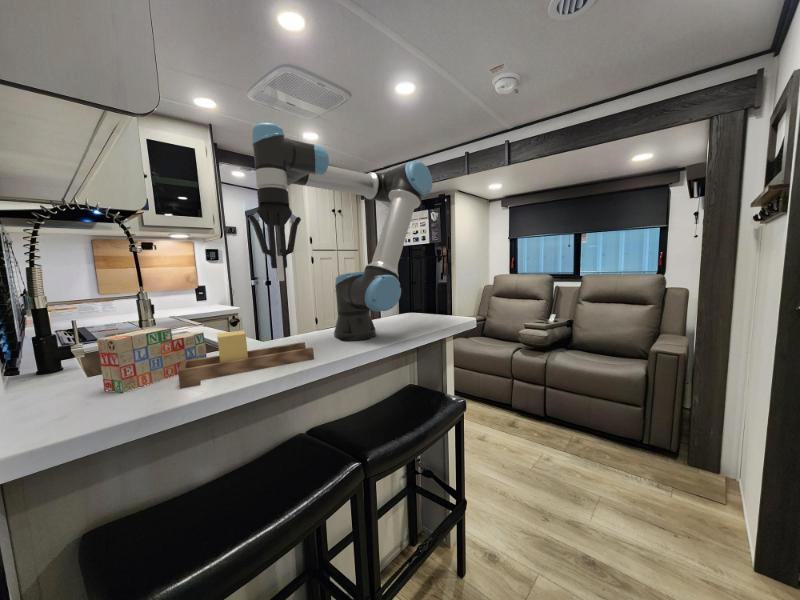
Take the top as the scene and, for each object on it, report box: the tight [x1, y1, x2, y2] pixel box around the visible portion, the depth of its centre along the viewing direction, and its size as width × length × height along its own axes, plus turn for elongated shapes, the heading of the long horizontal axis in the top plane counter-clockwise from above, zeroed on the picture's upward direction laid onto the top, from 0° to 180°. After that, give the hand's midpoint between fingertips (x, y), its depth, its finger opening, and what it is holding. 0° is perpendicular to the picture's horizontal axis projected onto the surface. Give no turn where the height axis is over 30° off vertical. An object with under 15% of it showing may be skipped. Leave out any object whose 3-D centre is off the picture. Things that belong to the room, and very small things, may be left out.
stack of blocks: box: [96, 327, 208, 394], centre depth 80 cm, size 21×6×12 cm, turn 163°
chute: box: [177, 341, 315, 389], centre depth 82 cm, size 30×9×4 cm, turn 121°
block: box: [216, 330, 248, 363], centre depth 80 cm, size 6×6×9 cm
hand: (280, 280), depth 85 cm, fingers closed
